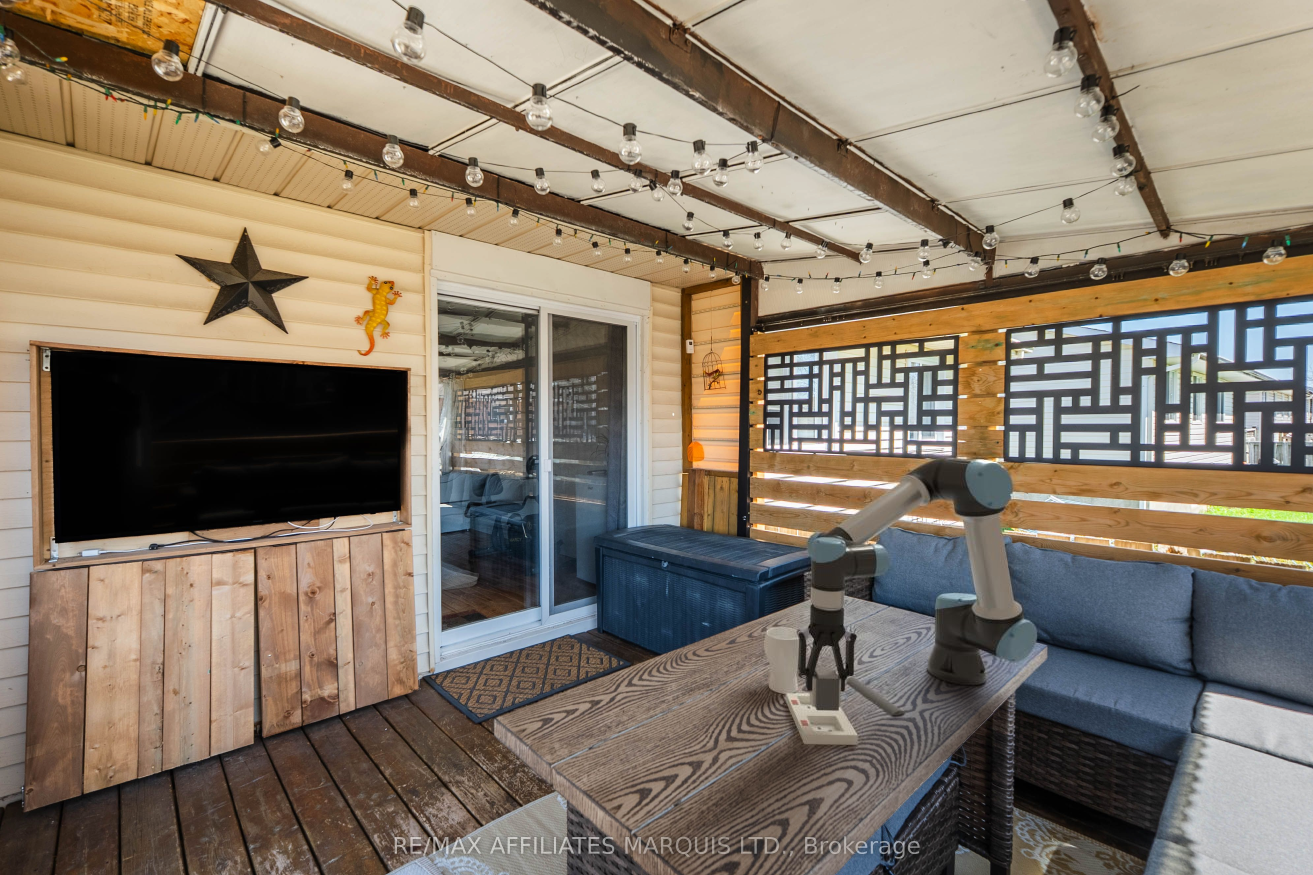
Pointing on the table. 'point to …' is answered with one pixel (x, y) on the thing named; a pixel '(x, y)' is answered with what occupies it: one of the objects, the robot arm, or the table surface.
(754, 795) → the table surface
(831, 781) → the table surface
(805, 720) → the socket plate
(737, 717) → the table surface
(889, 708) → the gray half cylinder
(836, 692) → the plug
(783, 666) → the cup
